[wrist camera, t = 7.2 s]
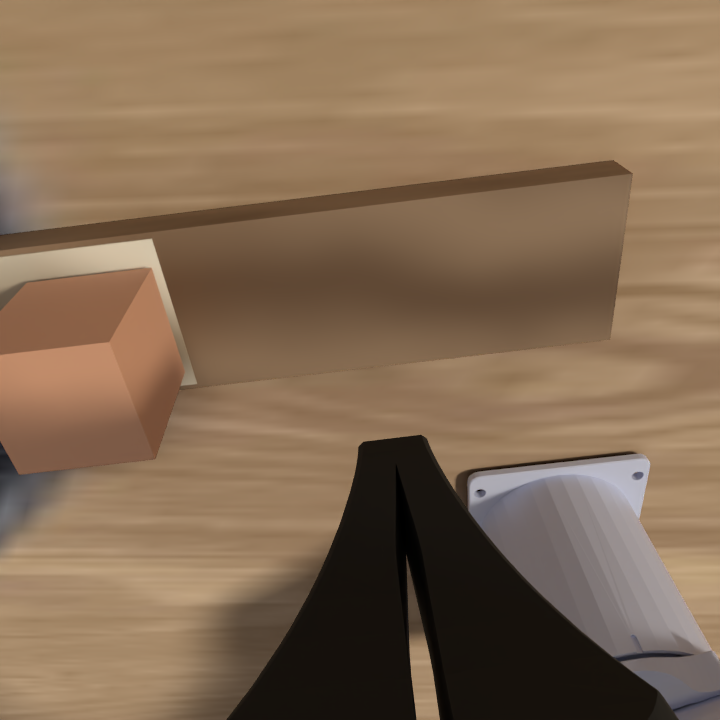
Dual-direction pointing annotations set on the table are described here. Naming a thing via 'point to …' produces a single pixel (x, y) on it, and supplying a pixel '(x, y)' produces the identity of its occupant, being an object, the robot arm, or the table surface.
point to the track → (364, 272)
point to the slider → (86, 372)
